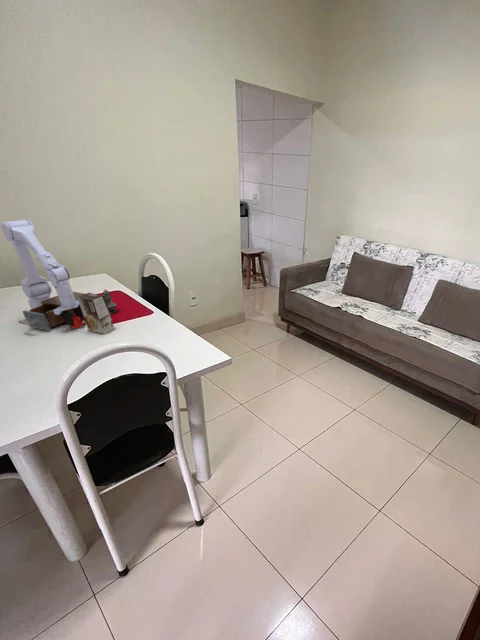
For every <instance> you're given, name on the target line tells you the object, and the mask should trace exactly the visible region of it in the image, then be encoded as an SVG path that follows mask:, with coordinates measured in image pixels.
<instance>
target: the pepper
mask: <svg viewBox="0 0 480 640" xmlns="http://www.w3.org/2000/svg"><path fill="white" fill-rule="evenodd" d="M72 320H73V323H74V326H70V327H71V328H72V329H79V328H82V327H84V323H83V322H82V320H81V318H80V317H79V316H76V315H74V314H72Z"/></svg>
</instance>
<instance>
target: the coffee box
mask: <svg viewBox="0 0 480 640" xmlns="http://www.w3.org/2000/svg"><path fill="white" fill-rule="evenodd" d="M77 299H78V302H79V304H80V307H81V310H82V312H83V315H84V317H83V319H84V321H85V322H86V326H87V329H88V331H90V332H94V333H99V334H103V335H105V334H106V333H109V332H110V331H113V330H115V326H114V323H113V319H112V316H111V314H110V313H109V309H108V306H107V303H106V299H105V296H104V295H103V294H99V293H93V292H87V293H84V295H82V296H79V297H77Z"/></svg>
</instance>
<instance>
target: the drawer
mask: <svg viewBox="0 0 480 640" xmlns="http://www.w3.org/2000/svg"><path fill="white" fill-rule="evenodd" d="M58 307H59V306H54V305H48V304H43V305H41V306H38V307H35V308H33V309H31V308H30V309H29V310H27V309H24V310H22V314H23V316H24V319H18V321H17V322H18V324H22V325H26V326H29V327H32V328H37V329H40V330H46V331H50V330H52V328H54V327H55V326H58V325H60V324H63V322H64V321H66V320H65V319H64V318H63V317H62V316H60V315H56V314H54V311H53V310H55V309H57V308H58Z"/></svg>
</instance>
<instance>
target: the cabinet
mask: <svg viewBox="0 0 480 640" xmlns="http://www.w3.org/2000/svg"><path fill="white" fill-rule="evenodd" d="M72 292H73V294H74V297H75V300H78V299H77V297H79V296H82V295H84V294H85V293H83V292H78V291H72ZM41 304H42V305H43V304H48V305H54V306H59V307H60V306H61V302H60V300H59V297H58V295H55V296H52V297H50V298H49V299H47V300H44V301H41ZM67 311H68V312H70V313H72V314H74V315H76V314H75V312H74V310H73V309H70V310H67ZM83 318H84V315H83ZM63 323H64V324H68V323H67V322H66V321H64V322H62V324H63Z"/></svg>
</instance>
